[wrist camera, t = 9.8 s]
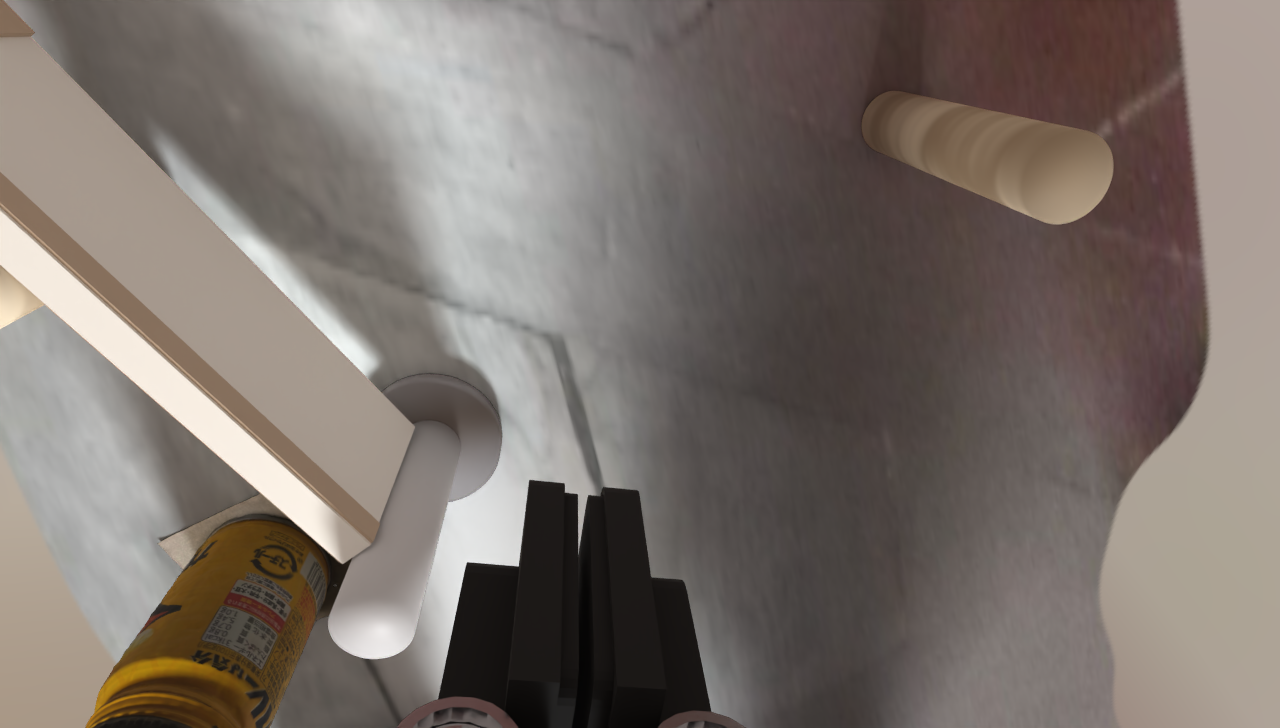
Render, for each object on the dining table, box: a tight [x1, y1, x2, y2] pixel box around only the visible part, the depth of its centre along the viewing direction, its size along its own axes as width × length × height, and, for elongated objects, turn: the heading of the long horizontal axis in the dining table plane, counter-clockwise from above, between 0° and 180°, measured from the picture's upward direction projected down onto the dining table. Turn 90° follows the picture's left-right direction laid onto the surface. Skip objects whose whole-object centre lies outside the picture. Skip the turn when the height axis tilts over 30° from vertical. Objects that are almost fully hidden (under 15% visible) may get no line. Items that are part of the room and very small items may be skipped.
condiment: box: [86, 493, 353, 728], centre depth 31 cm, size 7×8×12 cm
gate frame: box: [0, 91, 1113, 502], centre depth 25 cm, size 18×28×12 cm, turn 124°
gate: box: [0, 0, 461, 659], centre depth 25 cm, size 23×3×11 cm, turn 35°
